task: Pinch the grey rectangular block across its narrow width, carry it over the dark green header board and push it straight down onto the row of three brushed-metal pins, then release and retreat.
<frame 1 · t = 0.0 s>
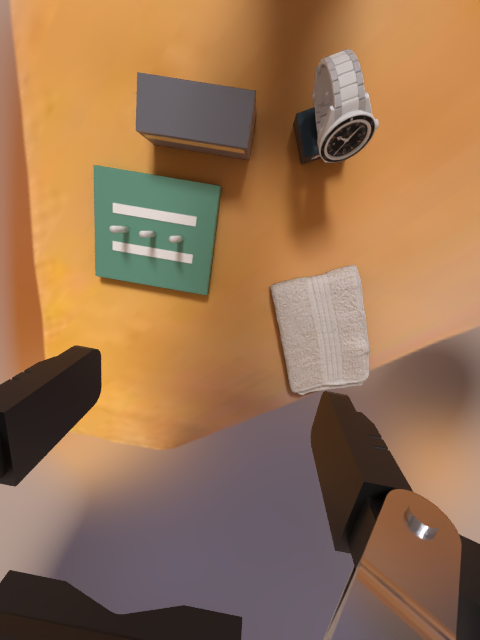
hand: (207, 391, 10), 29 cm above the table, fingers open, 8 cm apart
grey rectangular block: (203, 128, 32), on the table
washcloth: (318, 331, 40), on the table
watch: (320, 138, 32), on the table
header board: (156, 233, 37), on the table
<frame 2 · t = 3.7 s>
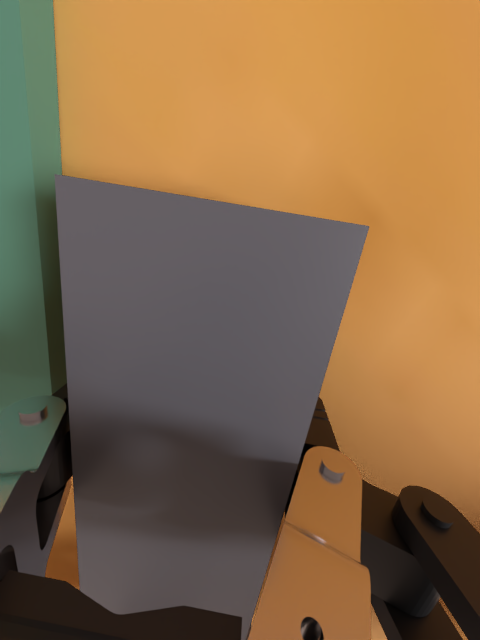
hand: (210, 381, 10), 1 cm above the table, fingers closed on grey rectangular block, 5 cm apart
grey rectangular block: (214, 373, 11), on the table, touching gripper
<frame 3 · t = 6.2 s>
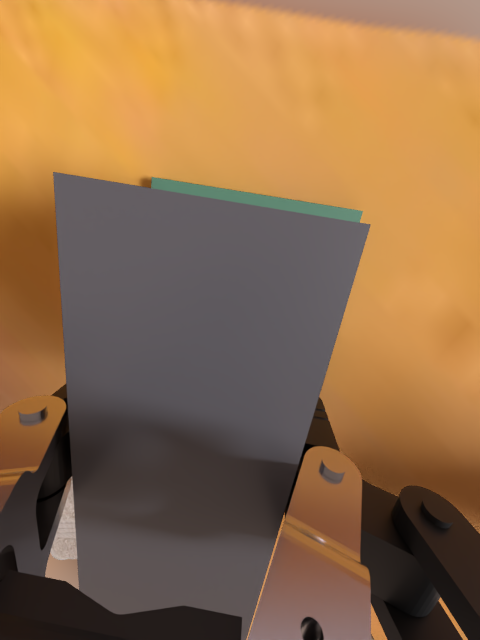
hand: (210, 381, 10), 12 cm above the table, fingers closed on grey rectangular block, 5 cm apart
grey rectangular block: (214, 372, 11), point 11 cm above the table, touching gripper
washcloth: (115, 496, 30), on the table
header board: (238, 305, 21), on the table
when the fingers open (3 cm above the table, at t = 9.1 s): grey rectangular block drops 1 cm, resting on header board.
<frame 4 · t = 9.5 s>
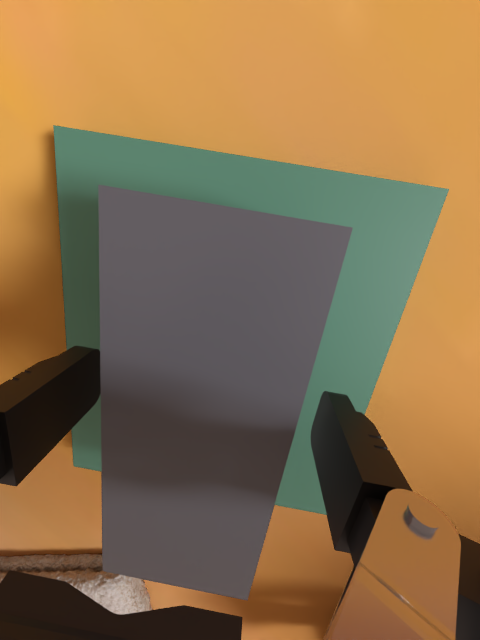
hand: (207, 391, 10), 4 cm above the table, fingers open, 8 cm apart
grey rectangular block: (220, 361, 12), point 1 cm above the table, touching header board
washcloth: (58, 591, 22), on the table
header board: (221, 348, 13), on the table
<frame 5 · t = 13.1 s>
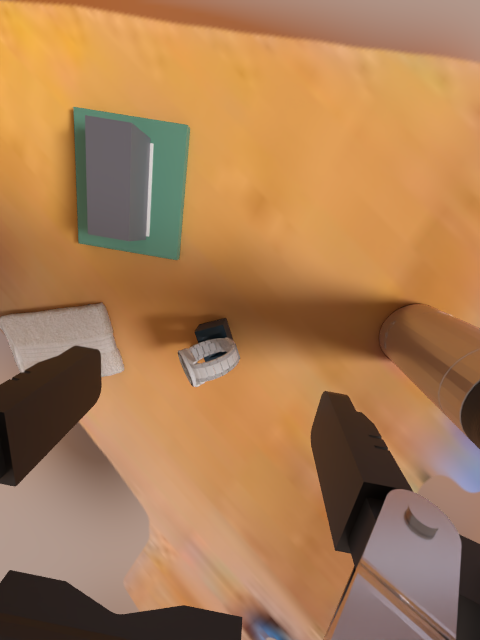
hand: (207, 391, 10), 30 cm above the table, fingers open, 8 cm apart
grey rectangular block: (129, 188, 35), point 1 cm above the table, touching header board
washcloth: (69, 339, 45), on the table
watch: (217, 337, 42), on the table
header board: (132, 190, 36), on the table
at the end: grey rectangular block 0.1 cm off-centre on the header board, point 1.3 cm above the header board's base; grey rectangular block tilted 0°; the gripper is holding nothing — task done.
